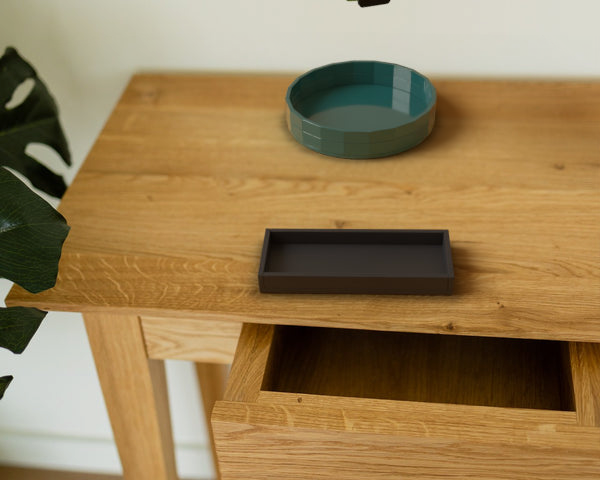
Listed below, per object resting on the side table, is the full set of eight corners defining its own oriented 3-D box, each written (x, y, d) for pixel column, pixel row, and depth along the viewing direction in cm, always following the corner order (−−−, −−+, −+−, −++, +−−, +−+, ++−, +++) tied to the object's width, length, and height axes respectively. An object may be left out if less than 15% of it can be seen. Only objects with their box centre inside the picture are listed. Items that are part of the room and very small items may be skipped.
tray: (446, 246, 73) (448, 229, 72) (452, 295, 68) (454, 277, 67) (267, 245, 75) (265, 228, 73) (259, 292, 69) (257, 275, 68)
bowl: (432, 86, 97) (434, 60, 95) (436, 160, 84) (438, 132, 82) (295, 85, 99) (294, 59, 97) (279, 157, 86) (277, 130, 84)
